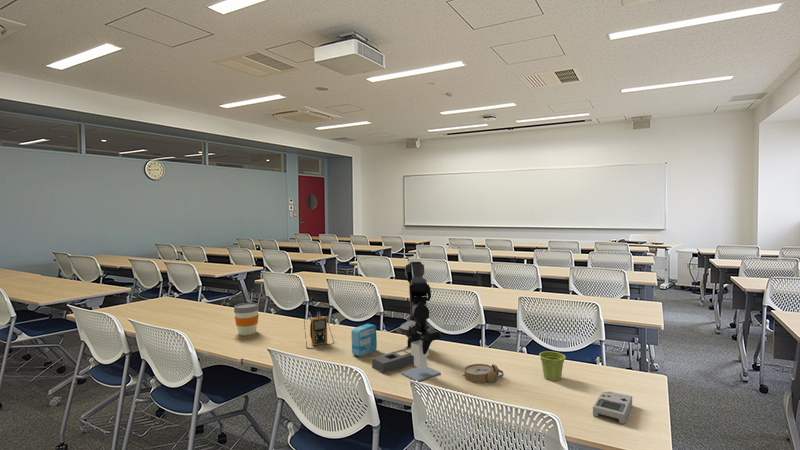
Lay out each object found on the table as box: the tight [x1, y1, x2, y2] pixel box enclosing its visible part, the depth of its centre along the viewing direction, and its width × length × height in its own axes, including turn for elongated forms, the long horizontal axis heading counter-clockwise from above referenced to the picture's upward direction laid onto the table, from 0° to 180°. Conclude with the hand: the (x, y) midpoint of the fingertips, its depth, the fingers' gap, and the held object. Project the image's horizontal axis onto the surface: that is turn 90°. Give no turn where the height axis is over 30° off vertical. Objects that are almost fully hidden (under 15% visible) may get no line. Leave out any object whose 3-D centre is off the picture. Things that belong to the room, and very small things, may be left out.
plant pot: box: [538, 350, 566, 382], centre depth 158 cm, size 9×9×9 cm
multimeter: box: [303, 302, 335, 350], centre depth 200 cm, size 15×10×20 cm
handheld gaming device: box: [592, 391, 633, 425], centre depth 133 cm, size 9×15×4 cm, turn 143°
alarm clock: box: [462, 363, 505, 384], centre depth 160 cm, size 11×5×15 cm
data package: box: [350, 323, 378, 357], centre depth 190 cm, size 12×4×12 cm, turn 142°
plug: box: [411, 340, 430, 368], centre depth 164 cm, size 5×5×9 cm
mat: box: [400, 366, 441, 382], centre depth 165 cm, size 12×10×1 cm
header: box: [371, 347, 414, 374], centre depth 175 cm, size 20×8×4 cm, turn 127°
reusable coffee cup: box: [233, 302, 260, 336], centre depth 224 cm, size 13×13×15 cm
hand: (420, 352), depth 164 cm, fingers closed on plug, 5 cm apart
